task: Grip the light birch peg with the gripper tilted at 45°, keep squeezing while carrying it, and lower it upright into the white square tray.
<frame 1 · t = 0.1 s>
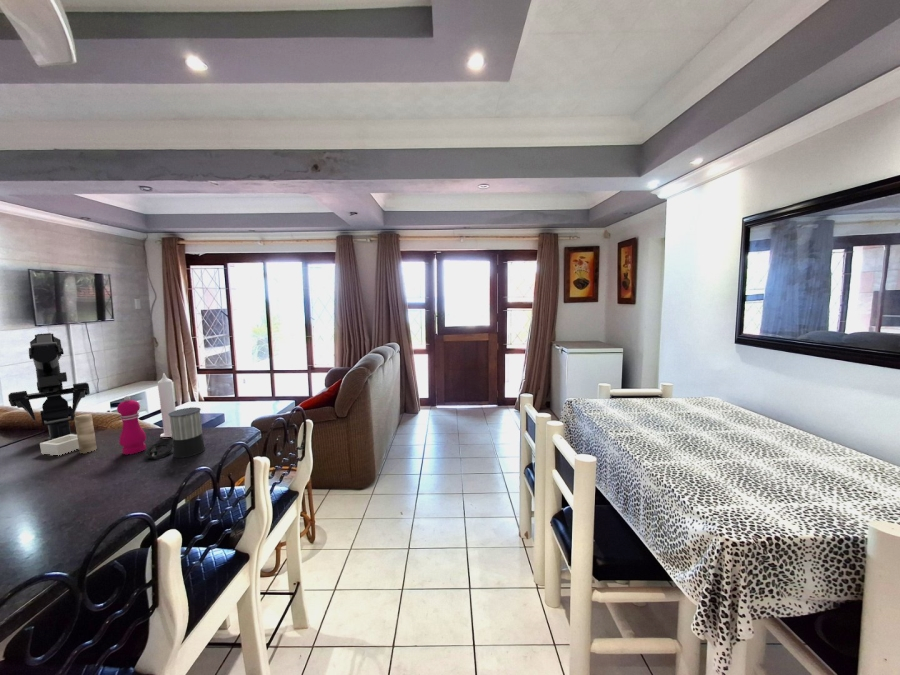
hand: (54, 416, 125), 15 cm above the table, tool tilted 35°, fingers open, 9 cm apart
pepper mill: (134, 451, 131), on the table
candle: (171, 435, 146), on the table
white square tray: (65, 449, 135), on the table
birch peg: (88, 450, 133), on the table
milk frother: (176, 454, 128), on the table
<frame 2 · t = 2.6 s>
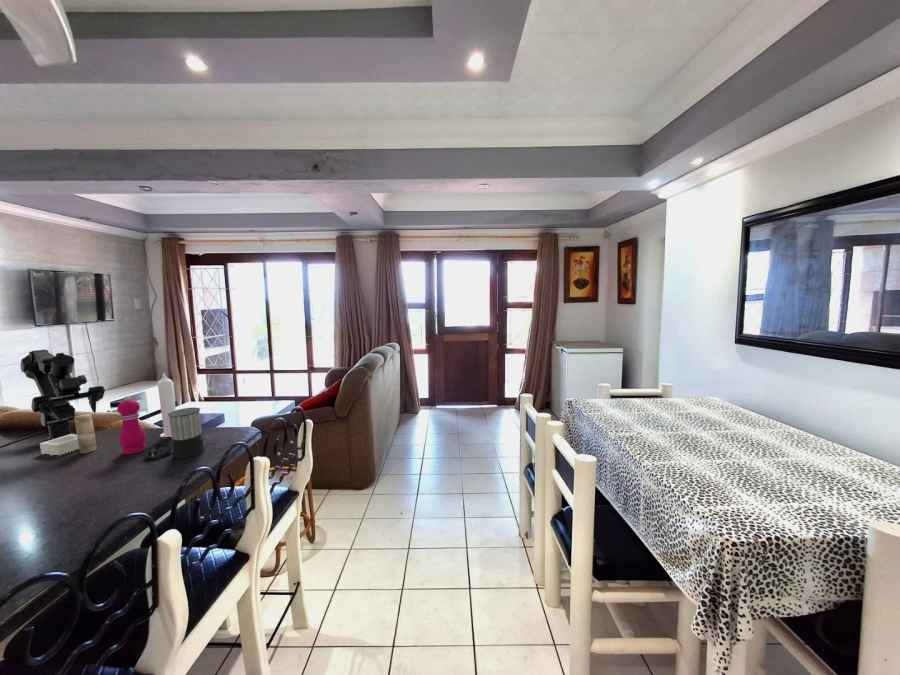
hand: (78, 415, 134), 12 cm above the table, tool tilted 45°, fingers open, 9 cm apart
nothing on the table moved.
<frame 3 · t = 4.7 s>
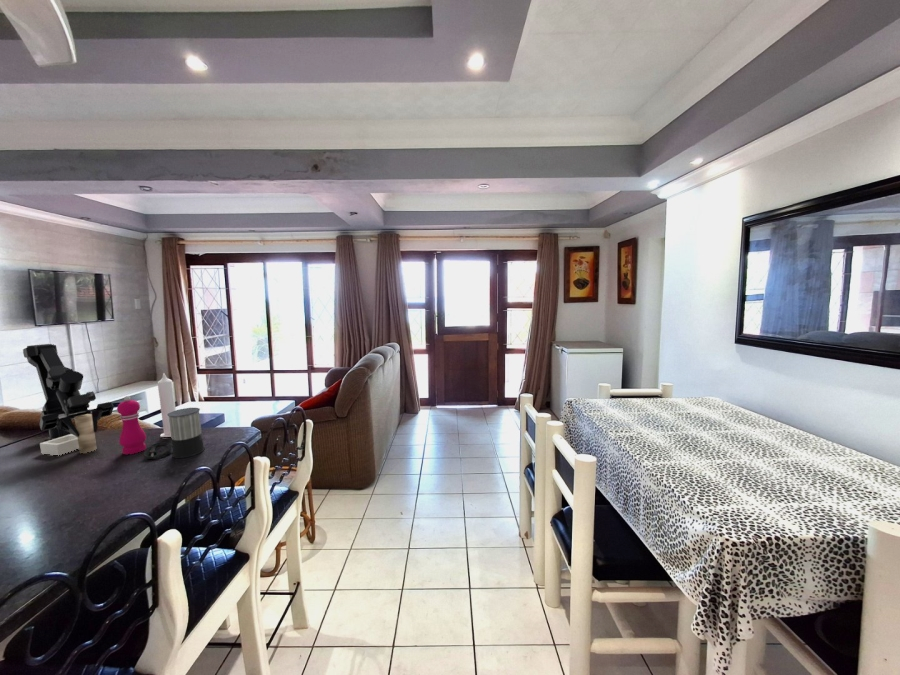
hand: (87, 433, 132), 7 cm above the table, tool tilted 45°, fingers closed on birch peg, 4 cm apart
birch peg: (88, 450, 133), on the table, touching gripper
everything else where it was.
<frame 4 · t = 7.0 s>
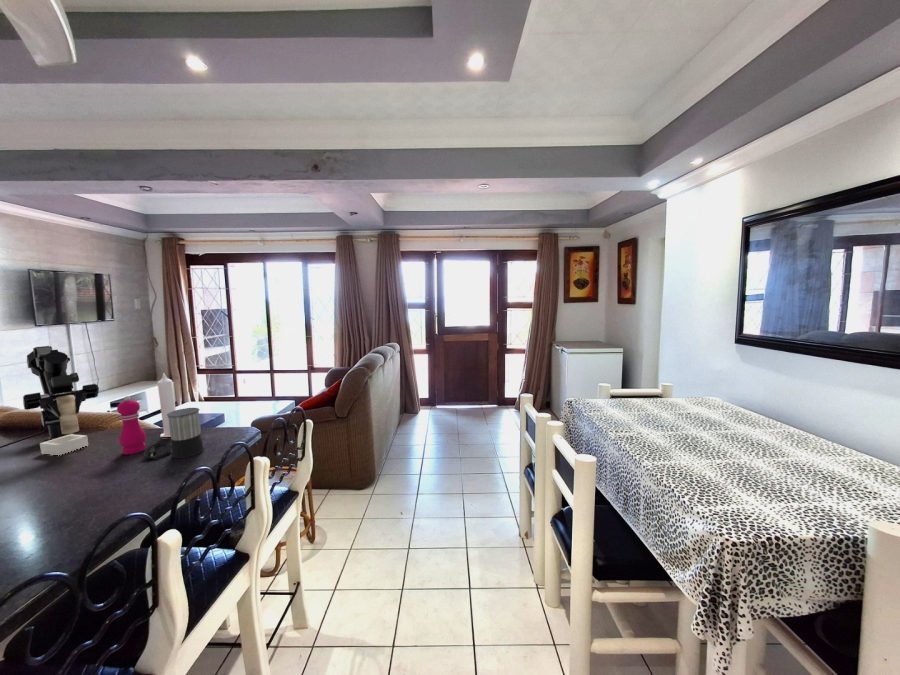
hand: (68, 414, 131), 14 cm above the table, tool tilted 45°, fingers closed on birch peg, 4 cm apart
birch peg: (70, 431, 133), point 7 cm above the table, touching gripper
everything else where it was.
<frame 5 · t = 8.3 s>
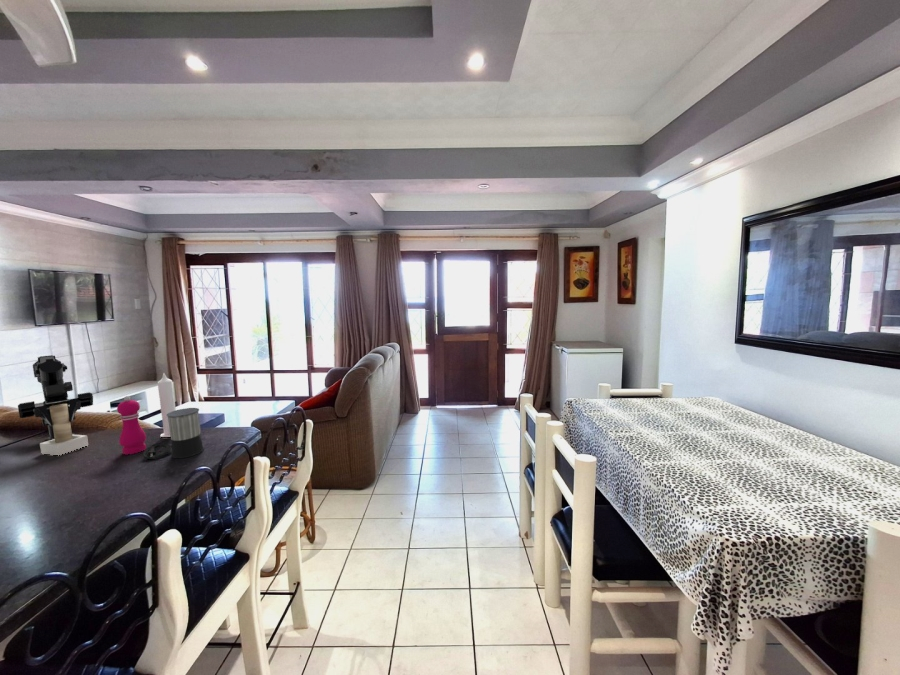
hand: (61, 423, 133), 10 cm above the table, tool tilted 45°, fingers closed on birch peg, 4 cm apart
birch peg: (64, 440, 134), point 4 cm above the table, touching gripper
everything else where it was.
when the fingers open (8 cm above the table, at t = 9.2 s): birch peg drops 1 cm, resting in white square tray.
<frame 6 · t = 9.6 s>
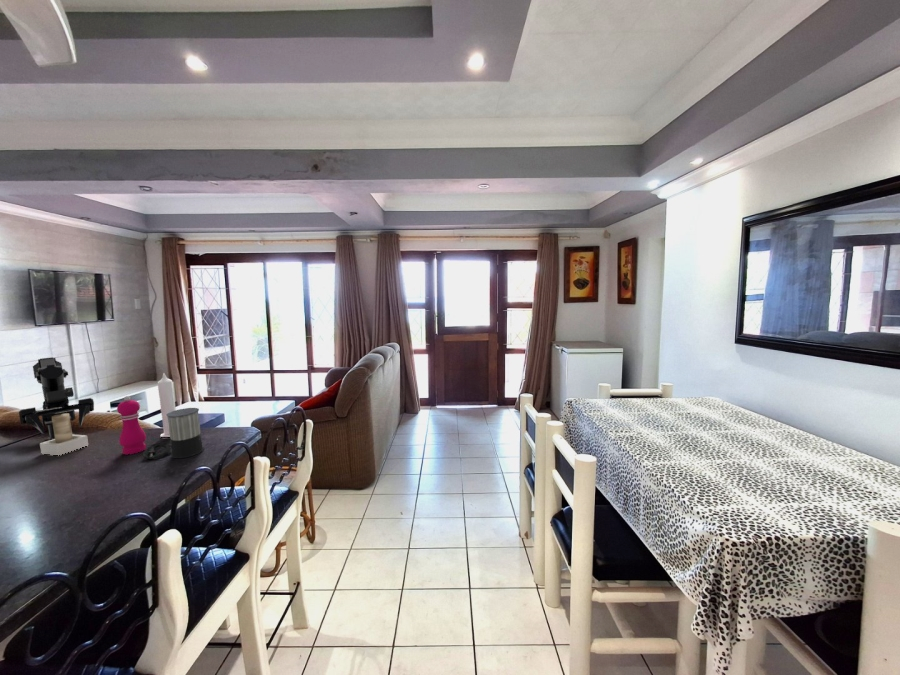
hand: (62, 429, 133), 8 cm above the table, tool tilted 45°, fingers open, 9 cm apart
birch peg: (65, 449, 135), resting in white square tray
everything else where it was.
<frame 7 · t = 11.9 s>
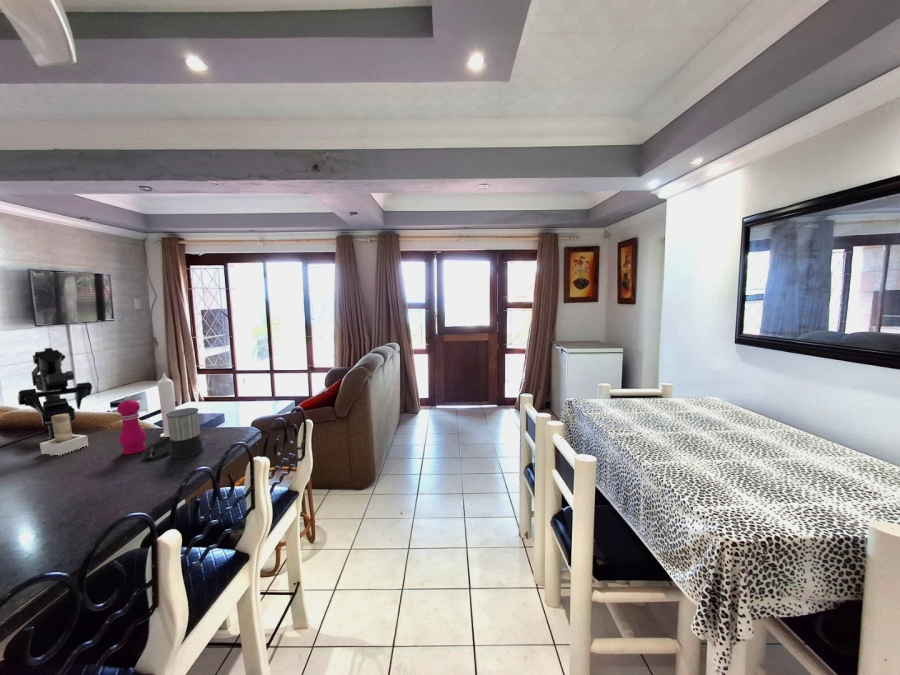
hand: (61, 411, 136), 14 cm above the table, tool tilted 45°, fingers open, 9 cm apart
nothing on the table moved.
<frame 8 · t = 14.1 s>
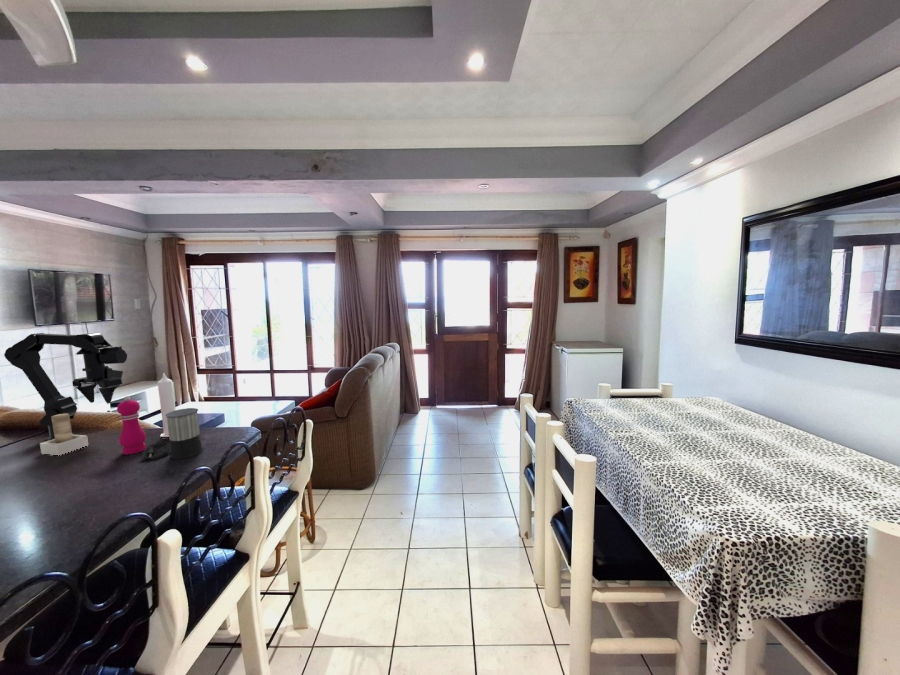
hand: (100, 402, 149), 13 cm above the table, tool pointing down, fingers open, 9 cm apart
nothing on the table moved.
at the end: birch peg 0.1 cm off-centre on the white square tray, point 0.0 cm above the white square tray's base; birch peg tilted 0°; the gripper is holding nothing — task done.
